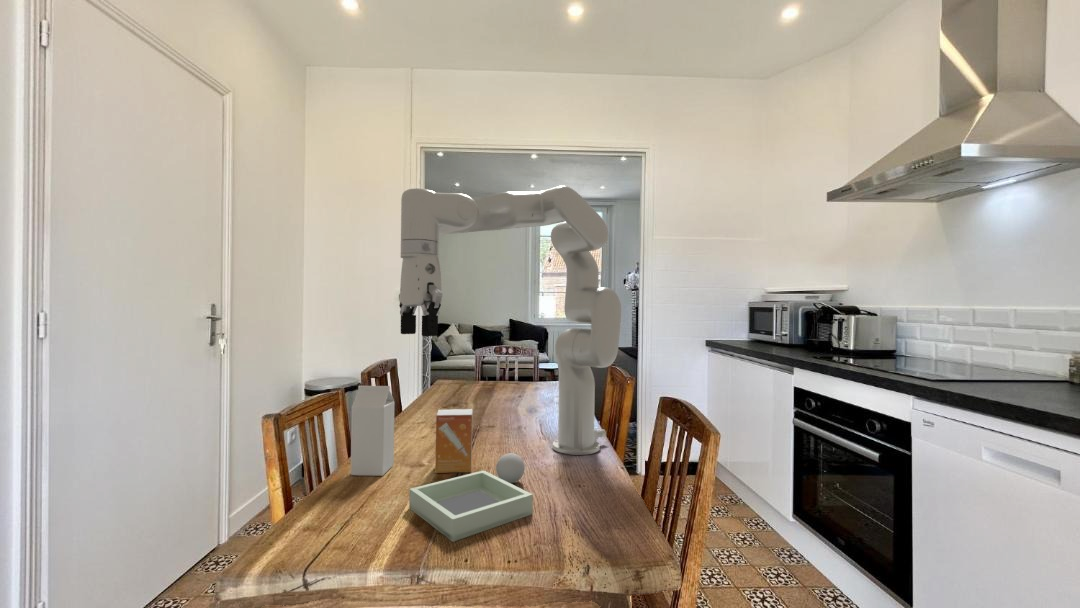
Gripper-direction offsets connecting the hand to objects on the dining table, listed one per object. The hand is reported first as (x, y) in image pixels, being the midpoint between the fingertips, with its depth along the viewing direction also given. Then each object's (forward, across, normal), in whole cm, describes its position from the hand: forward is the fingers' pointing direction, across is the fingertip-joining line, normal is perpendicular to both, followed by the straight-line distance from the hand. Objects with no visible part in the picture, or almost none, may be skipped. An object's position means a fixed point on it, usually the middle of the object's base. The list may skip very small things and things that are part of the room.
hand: (418, 334), depth 95 cm
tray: (+31, -16, -3) cm, 35 cm away
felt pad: (+31, -16, -3) cm, 35 cm away
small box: (+31, +6, -12) cm, 34 cm away
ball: (+28, -9, -17) cm, 34 cm away
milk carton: (+31, +16, +3) cm, 35 cm away
